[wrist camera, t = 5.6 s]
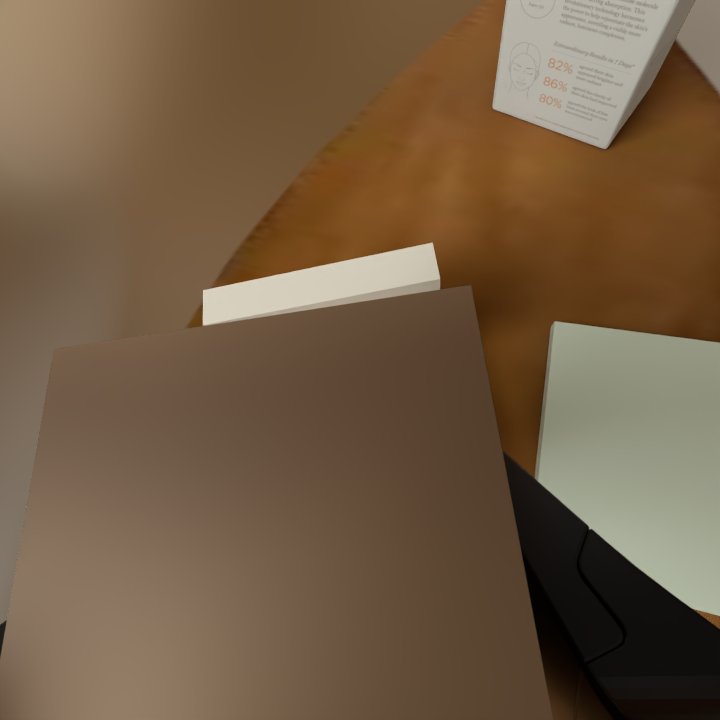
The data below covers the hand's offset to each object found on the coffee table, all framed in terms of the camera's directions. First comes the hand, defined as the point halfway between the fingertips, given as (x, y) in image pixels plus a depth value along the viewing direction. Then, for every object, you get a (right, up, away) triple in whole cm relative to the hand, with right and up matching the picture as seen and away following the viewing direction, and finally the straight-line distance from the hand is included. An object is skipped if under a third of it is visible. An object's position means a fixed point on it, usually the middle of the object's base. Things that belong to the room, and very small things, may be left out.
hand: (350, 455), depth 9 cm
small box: (+14, +19, +17) cm, 29 cm away
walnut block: (+1, -3, +4) cm, 5 cm away
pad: (+14, -2, +10) cm, 17 cm away
